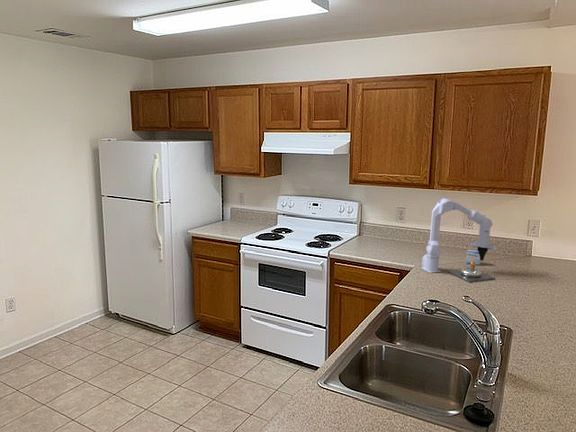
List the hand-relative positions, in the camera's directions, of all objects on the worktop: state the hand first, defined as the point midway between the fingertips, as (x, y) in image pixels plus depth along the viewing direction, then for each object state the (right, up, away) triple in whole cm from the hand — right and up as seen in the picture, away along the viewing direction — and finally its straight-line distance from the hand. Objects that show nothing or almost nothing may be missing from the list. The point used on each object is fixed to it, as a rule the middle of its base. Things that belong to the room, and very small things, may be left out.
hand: (481, 260), depth 261 cm
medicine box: (+2, -5, +18) cm, 19 cm away
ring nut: (-7, -7, -3) cm, 10 cm away
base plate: (-9, -9, -5) cm, 13 cm away
